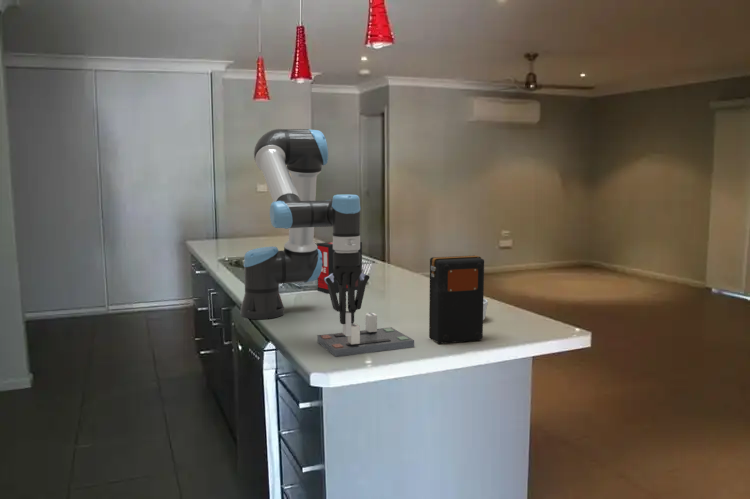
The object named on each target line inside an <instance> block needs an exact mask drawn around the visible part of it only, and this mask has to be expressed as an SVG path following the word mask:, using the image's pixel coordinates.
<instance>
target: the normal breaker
mask: <svg viewBox="0 0 750 499" xmlns="http://www.w3.org/2000/svg"><path fill="white" fill-rule="evenodd" d="M364 320H365V321H364V322H365V324H364V325H365V330H366V331H368V332H376V331H377V329H378V315H377V314H376V313H374V312H368V313H365V317H364Z"/></svg>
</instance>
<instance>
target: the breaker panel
mask: <svg viewBox="0 0 750 499" xmlns="http://www.w3.org/2000/svg"><path fill="white" fill-rule="evenodd" d="M316 336H317V338H316V341H317V343H318V344H319V345H320V346H322V347H323V349H327V350H326V351H328V352H329V353H330V354H331V355H333V356H334V357H335V358H337V357H346V356H354V355H361V354H368V353H377V352H378V353H379V352H385V351H393V350H394V351H395V350H399V349H402V350H403V349H409V348H414V347H415V339H413V338H411V337H410V336H408V335H406V334H404V333H402V332H400V331H399V330H397V329H395V328H394V327H390V326H389V327H383V328H381V327H380V328H377V331H376V332H368V331H366V330H364V329H363V330H360V343H359V344H350V343H349V342H348V336H345V335H344V334H343V332H335V333H328V334H319V335H318V334H317V335H316Z"/></svg>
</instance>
